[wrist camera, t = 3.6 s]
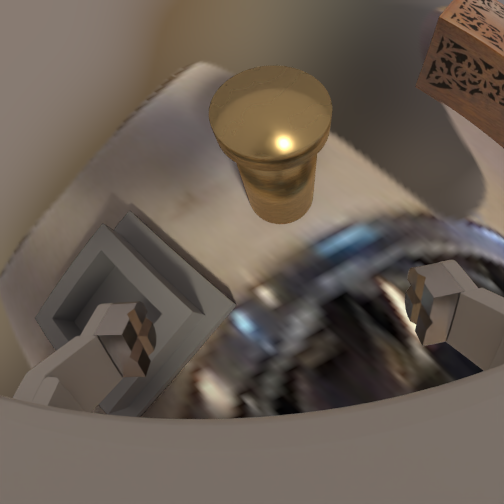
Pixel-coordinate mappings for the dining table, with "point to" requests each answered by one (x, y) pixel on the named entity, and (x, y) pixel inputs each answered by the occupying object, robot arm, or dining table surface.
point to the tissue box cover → (469, 64)
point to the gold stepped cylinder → (273, 136)
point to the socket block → (131, 290)
